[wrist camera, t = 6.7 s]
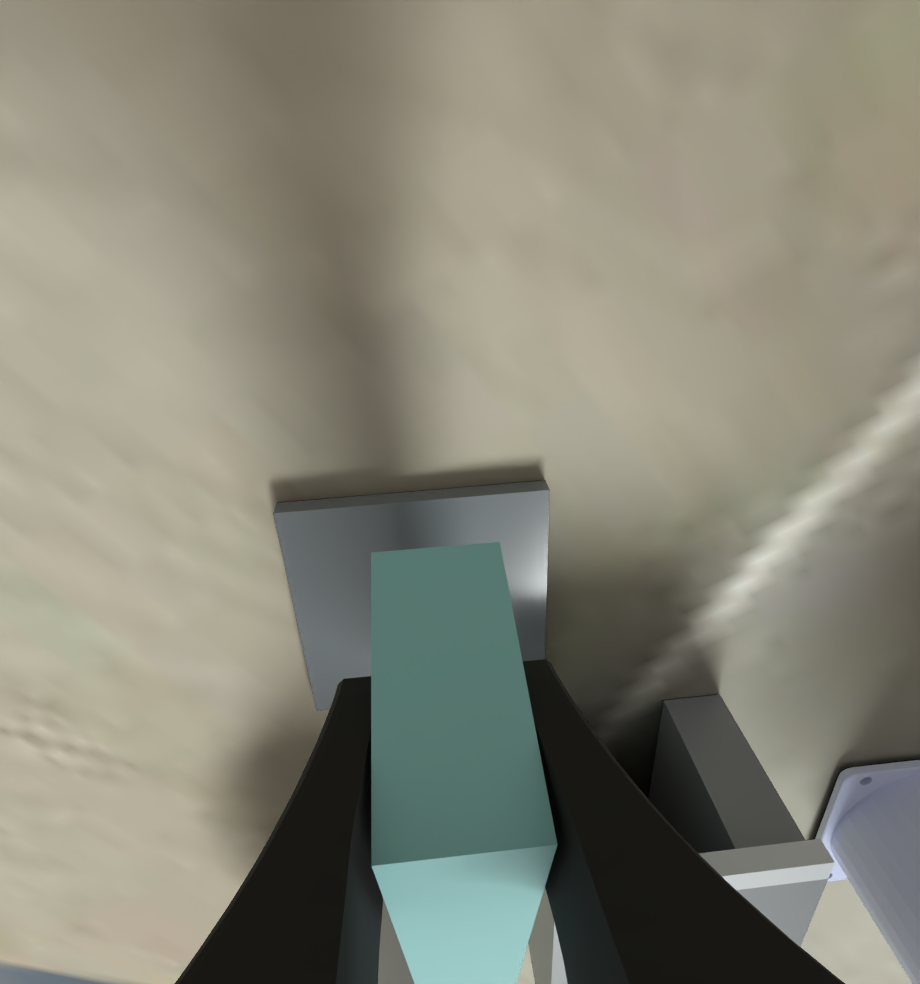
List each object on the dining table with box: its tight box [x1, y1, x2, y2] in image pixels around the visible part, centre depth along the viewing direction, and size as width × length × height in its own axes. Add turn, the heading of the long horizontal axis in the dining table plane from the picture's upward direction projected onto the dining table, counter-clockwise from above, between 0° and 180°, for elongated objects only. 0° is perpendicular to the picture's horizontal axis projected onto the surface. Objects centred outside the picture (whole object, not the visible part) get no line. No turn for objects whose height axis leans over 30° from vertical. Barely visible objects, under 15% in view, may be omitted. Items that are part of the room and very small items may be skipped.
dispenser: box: [528, 695, 835, 984], centre depth 23 cm, size 8×10×7 cm
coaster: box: [273, 480, 550, 711], centre depth 21 cm, size 8×8×1 cm
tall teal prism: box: [371, 542, 557, 984], centre depth 14 cm, size 2×11×5 cm, turn 2°
